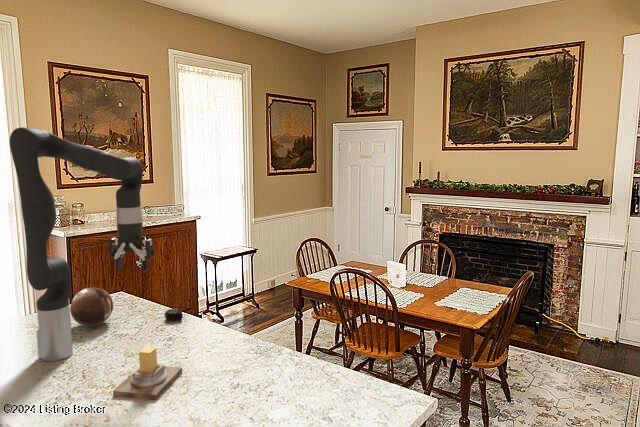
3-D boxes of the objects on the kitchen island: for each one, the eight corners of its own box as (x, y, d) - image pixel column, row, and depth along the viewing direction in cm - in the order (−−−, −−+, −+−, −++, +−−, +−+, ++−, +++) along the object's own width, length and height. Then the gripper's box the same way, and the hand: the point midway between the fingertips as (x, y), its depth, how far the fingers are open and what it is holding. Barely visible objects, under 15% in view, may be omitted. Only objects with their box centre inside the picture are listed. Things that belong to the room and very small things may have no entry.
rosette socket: (113, 395, 129) (112, 380, 128) (143, 368, 145) (142, 355, 144) (156, 399, 127) (155, 384, 126) (182, 372, 143) (181, 358, 142)
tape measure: (182, 321, 184) (182, 312, 183) (164, 323, 182) (164, 314, 181) (182, 315, 190) (182, 307, 190) (165, 317, 188) (164, 308, 188)
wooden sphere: (64, 326, 178) (61, 289, 176) (101, 315, 190) (98, 280, 188) (84, 335, 169) (81, 297, 167) (122, 323, 182) (119, 286, 179)
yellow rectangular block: (140, 377, 134) (138, 352, 133) (146, 372, 137) (145, 346, 136) (151, 378, 133) (150, 352, 132) (157, 373, 137) (156, 347, 136)
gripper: (101, 222, 142) (105, 272, 144) (144, 223, 140) (147, 274, 142) (115, 218, 149) (119, 266, 152) (156, 219, 147) (159, 268, 149)
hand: (132, 270), depth 147 cm, fingers open, 8 cm apart
